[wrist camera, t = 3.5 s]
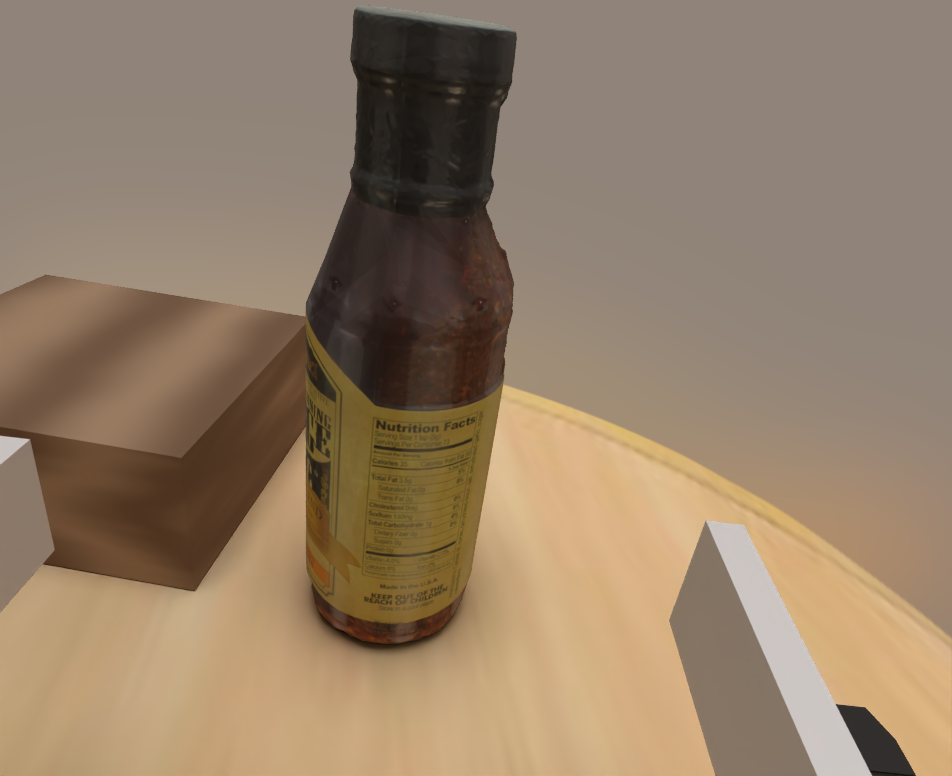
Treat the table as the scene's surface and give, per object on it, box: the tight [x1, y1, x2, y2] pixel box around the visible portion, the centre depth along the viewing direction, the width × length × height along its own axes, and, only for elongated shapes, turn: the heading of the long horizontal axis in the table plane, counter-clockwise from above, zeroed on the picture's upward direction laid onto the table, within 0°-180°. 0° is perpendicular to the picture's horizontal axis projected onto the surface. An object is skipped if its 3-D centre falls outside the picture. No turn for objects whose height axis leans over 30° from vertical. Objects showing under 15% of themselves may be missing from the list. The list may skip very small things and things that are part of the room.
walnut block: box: [0, 275, 306, 591], centre depth 29 cm, size 14×13×6 cm
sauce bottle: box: [305, 5, 517, 644], centre depth 21 cm, size 7×6×20 cm
